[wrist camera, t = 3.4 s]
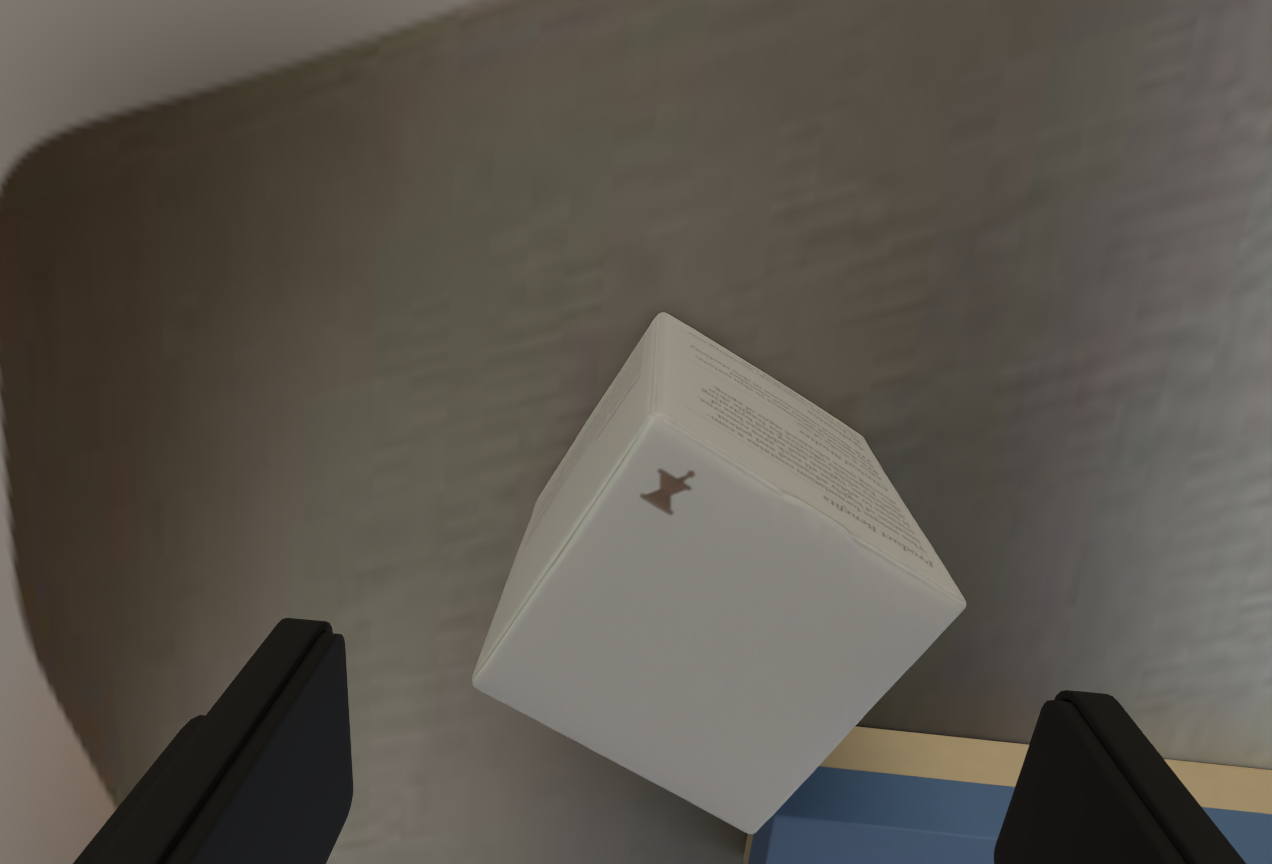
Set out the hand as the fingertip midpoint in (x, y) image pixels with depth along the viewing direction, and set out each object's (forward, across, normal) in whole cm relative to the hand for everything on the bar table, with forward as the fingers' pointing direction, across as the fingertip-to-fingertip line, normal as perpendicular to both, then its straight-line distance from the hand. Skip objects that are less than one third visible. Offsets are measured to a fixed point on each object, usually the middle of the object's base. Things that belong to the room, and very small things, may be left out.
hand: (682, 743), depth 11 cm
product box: (+10, -1, 0) cm, 10 cm away
